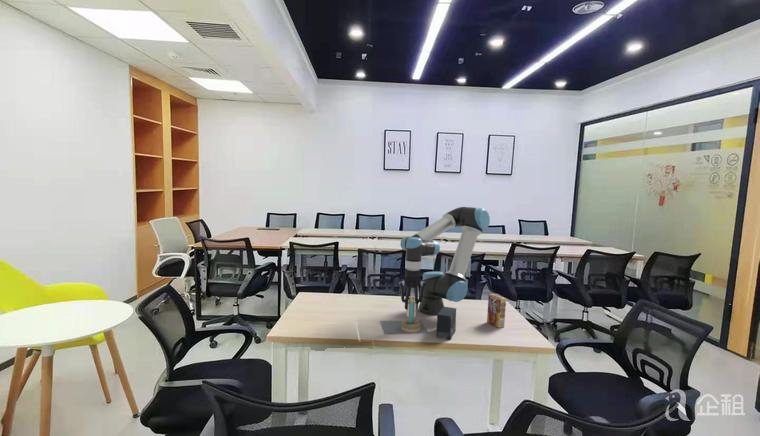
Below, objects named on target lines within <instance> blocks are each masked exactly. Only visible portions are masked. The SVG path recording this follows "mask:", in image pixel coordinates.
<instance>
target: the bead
mask: <svg viewBox="0 0 760 436" xmlns="http://www.w3.org/2000/svg"><path fill="white" fill-rule="evenodd" d="M401 321H402V322H401V329H402V330H403V331H405V332H418V331H419V330H420V322H419V321H417V320H416V319H414V321H413V324H408V318H407V319H403V320H401Z"/></svg>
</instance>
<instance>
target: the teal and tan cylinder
mask: <svg viewBox="0 0 760 436" xmlns="http://www.w3.org/2000/svg"><path fill="white" fill-rule="evenodd" d="M408 302H409V304H410V305H409V317H407V319H408V324H413V321H414V320H415V319H414V318H415V317H414V302H415V296H409V300H408Z"/></svg>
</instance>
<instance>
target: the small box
mask: <svg viewBox="0 0 760 436" xmlns="http://www.w3.org/2000/svg"><path fill="white" fill-rule="evenodd" d="M456 322H457V308H455V307H450V306H444V307H443V308H442V309H441V310H440V312H439V313H438V314H437V315H436V338H438V339H442V340H443V339H444V340H447V341H451V340H452V338H453V336H454V334H455V333H456V331H457V330H456V329H457V328H456V327H457V323H456Z"/></svg>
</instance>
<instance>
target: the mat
mask: <svg viewBox="0 0 760 436" xmlns="http://www.w3.org/2000/svg"><path fill="white" fill-rule="evenodd" d="M402 321H403V320H380V321H379V322H380V326H381V329H382V330H383V331H382V332H383V333H384V335H404V334H405V335H411V334H413V335H414V334H430V331H429V330H428V329H427V327H426V326H425V325H424V323H423V321H422V320H417V321H419V322H420V330H419V331H418V332H405V331H403V330H402V329H401V322H402Z"/></svg>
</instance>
